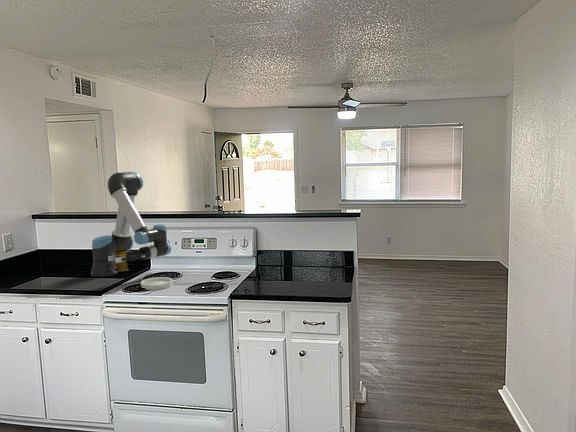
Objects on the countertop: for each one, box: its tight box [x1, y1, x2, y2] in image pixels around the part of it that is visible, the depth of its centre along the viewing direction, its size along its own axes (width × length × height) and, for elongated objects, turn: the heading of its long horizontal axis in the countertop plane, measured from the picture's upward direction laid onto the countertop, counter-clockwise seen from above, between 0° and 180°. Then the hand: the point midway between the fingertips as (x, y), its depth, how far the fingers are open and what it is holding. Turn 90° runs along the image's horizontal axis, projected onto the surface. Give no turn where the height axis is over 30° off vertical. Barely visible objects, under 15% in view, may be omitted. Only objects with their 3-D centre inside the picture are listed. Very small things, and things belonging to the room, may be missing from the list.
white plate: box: [140, 276, 174, 291], centre depth 258 cm, size 17×17×2 cm
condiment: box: [111, 249, 130, 273], centre depth 259 cm, size 7×8×12 cm
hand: (112, 259), depth 254 cm, fingers closed on condiment, 6 cm apart
